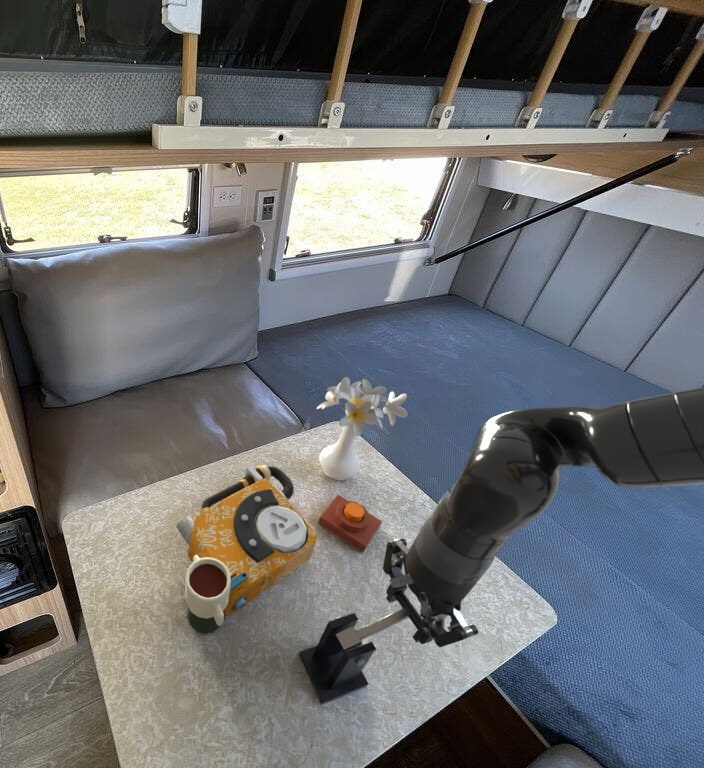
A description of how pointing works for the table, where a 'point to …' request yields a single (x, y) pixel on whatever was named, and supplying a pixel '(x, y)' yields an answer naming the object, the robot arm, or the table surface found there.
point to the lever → (379, 624)
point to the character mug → (206, 593)
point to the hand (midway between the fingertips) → (405, 617)
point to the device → (251, 534)
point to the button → (354, 512)
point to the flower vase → (355, 423)
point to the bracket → (336, 662)
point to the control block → (349, 524)
